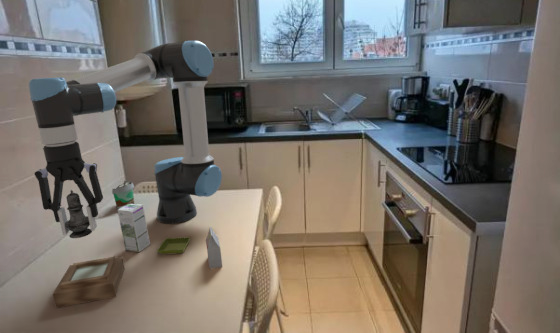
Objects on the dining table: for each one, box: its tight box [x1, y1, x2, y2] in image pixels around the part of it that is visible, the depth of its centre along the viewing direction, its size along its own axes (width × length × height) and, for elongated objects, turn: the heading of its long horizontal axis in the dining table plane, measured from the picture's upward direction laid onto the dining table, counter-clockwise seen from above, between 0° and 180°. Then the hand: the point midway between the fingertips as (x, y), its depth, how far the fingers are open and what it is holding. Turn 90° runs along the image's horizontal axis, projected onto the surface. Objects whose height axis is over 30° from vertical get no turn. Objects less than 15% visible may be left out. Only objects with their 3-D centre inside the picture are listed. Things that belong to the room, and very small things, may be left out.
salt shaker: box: [65, 189, 93, 239], centre depth 92 cm, size 6×6×12 cm
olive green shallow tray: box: [156, 236, 191, 255], centre depth 116 cm, size 9×9×2 cm
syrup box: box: [117, 203, 151, 253], centre depth 116 cm, size 6×6×14 cm
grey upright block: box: [205, 227, 223, 269], centre depth 105 cm, size 4×7×10 cm, turn 14°
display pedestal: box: [52, 256, 126, 309], centre depth 97 cm, size 14×14×5 cm
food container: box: [111, 180, 135, 211], centre depth 155 cm, size 12×6×10 cm, turn 179°
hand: (80, 230), depth 93 cm, fingers closed on salt shaker, 6 cm apart
